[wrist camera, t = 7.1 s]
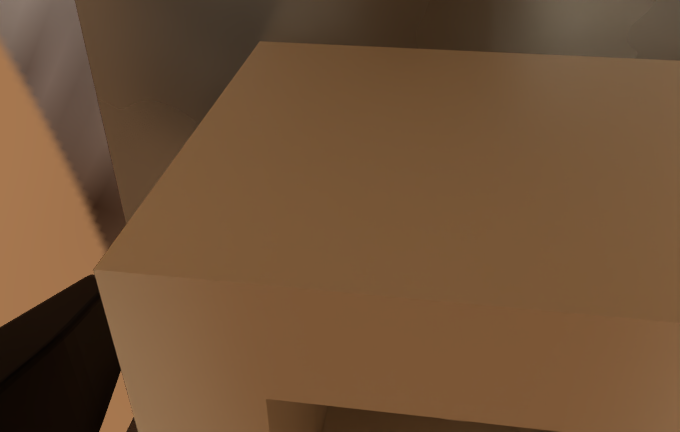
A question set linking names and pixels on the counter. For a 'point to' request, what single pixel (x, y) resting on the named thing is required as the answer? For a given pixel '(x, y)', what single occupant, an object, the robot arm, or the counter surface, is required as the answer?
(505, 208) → the collar
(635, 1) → the housing base
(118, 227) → the counter surface
